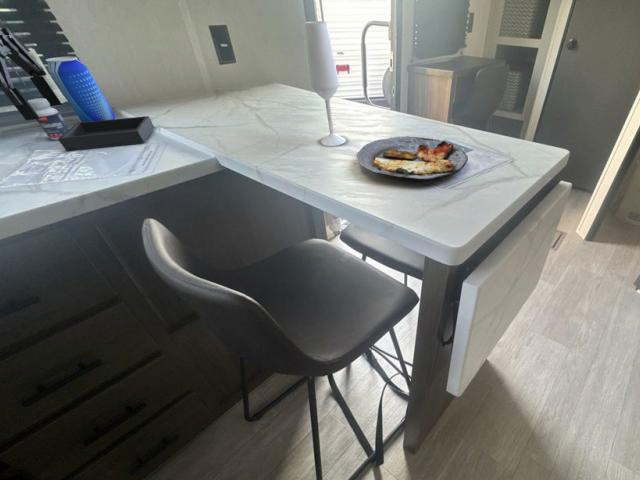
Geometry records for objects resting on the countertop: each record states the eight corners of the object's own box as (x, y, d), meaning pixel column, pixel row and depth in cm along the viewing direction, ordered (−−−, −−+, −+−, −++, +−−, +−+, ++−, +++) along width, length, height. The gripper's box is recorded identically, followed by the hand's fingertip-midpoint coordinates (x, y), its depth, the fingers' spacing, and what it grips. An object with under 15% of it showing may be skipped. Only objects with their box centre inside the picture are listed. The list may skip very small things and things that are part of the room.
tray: (66, 151, 80) (57, 138, 77) (85, 133, 89) (77, 122, 86) (144, 143, 83) (137, 130, 81) (154, 127, 92) (148, 115, 90)
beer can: (105, 119, 98) (66, 55, 86) (125, 122, 96) (88, 56, 84) (78, 128, 92) (32, 60, 81) (99, 130, 90) (55, 62, 79)
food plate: (472, 151, 79) (474, 136, 76) (457, 194, 63) (459, 177, 61) (378, 141, 84) (378, 127, 81) (343, 178, 68) (341, 162, 66)
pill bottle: (50, 141, 84) (21, 104, 78) (50, 136, 87) (23, 99, 81) (74, 137, 87) (48, 100, 80) (74, 132, 90) (49, 96, 83)
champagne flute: (324, 136, 87) (305, 20, 69) (348, 137, 86) (335, 20, 69) (317, 145, 82) (295, 23, 65) (342, 146, 81) (327, 23, 64)
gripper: (-52, 2, 60) (40, 124, 75) (14, -2, 76) (79, 98, 92) (-103, 3, 58) (2, 128, 73) (-24, -1, 75) (48, 101, 90)
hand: (45, 112), depth 83 cm, fingers open, 13 cm apart
